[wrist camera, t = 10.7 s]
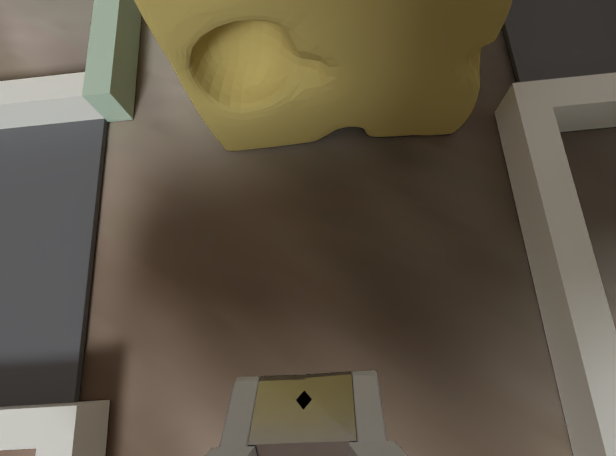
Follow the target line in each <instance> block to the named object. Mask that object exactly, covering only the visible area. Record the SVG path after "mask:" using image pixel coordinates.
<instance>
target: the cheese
mask: <svg viewBox="0 0 616 456" xmlns="http://www.w3.org/2000/svg"><path fill="white" fill-rule="evenodd" d="M134 1H135V3H136V5H137V7H138V9H139V11H140V13H141V15H142V17H143V18H144V20H145V22H146V24H147V25H148V27H149V28H150V30H151V32H152V33H153V35H154V37H155V38H156V40H157V42H158V43H159V45H160V47H161V48H162V50H163V52H164V53H165V55H166V56H167V58H168V59H169V61H170V63H171V65H172V66H173V68H174V70H175V72H176V74H177V76H178V78H179V80H180V82H181V84H182V85H183V87H184V89H185V91H186V92H187V94H188V96H189V97H190V99H191V101H192V103H193V104H194V106H195V108H196V109H197V111H198V113H199V114H200V115H201V117H202V118H203V120H204V122H205V123H206V125H207V126H208V127H209V129H210V130H211V132H212V133H213V134H214V135H215V137H216V138H217V139H218V141H219V142H220V143H221V144H222V146H223V147H224V148H225V149H226V150H228V151H240V150H249V149H259V148H268V147H277V146H285V145H293V144H301V143H307V142H313V141H317V140H319V139H321V138H323V137H325V136H327V135H329V134H330V133H331V132H333V131H335V130H337V129H340V128H344V127H360V128H363V129H365V131H366V133H367V134H368V135H369V136H373V137H390V136H406V135H443V134H451V133H453V132H455V131H456V130H457V129H458V128H460V127H461V126H462V125H463V124H464V122H465V121H466V120H467V119H468V117H469V116H470V114H471V112H472V111H473V108H474V106H475V104H476V101H477V99H478V94H479V89H480V58H481V50H482V48H483V46H485V45H488V44H490V43H492V42H494V41H495V40H496V39H497V37H498V35H499V33H500V31H501V29H502V26H503V24H504V22H505V20H506V18H507V15H508V13H509V10H510V7H511V4H512V1H513V0H134Z"/></svg>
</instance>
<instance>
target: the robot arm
mask: <svg viewBox="0 0 616 456" xmlns="http://www.w3.org/2000/svg"><path fill="white" fill-rule="evenodd" d="M352 383H353V384H352ZM353 395H354V396H353ZM205 456H407V454H406V453H405V452H404V451H403V450H402V449H401V447H400V446H399V445H398V444H397V443H396V442H395V441H387V436H386V430H385V423H384V416H383V410H382V403H381V396H380V390H379V383H378V376H377V373H376V371H375V370H369V371H352V373H351V371H348V372H332V373H316V374H306V375H276V376H251V377H238V378H237V380H236V381H235V383H234V387H233V391H232V395H231V399H230V403H229V408H228V412H227V416H226V420H225V425H224V429H223V433H222V437H221V441H220V446H219V447H216V448H211V449H210V450H209V452H208V453H207V454H206V455H205Z"/></svg>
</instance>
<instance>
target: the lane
mask: <svg viewBox="0 0 616 456" xmlns="http://www.w3.org/2000/svg"><path fill="white" fill-rule="evenodd" d="M141 17H142V15H141V13H140V11H139V9H138V7H137V5H136V3H135V1H134V0H94V6H93V14H92V22H91V29H90V37H89V45H88V53H87V60H86V68H85V72H80V73H71V74H62V75H52V76H43V77H34V78H25V79H16V80H7V81H0V450H12V449H31V448H36V456H105V454H106V442H107V430H108V418H109V406H110V400H100V401H83V402H79V397H80V387H81V377H82V368H83V358H84V348H85V339H86V329H87V320H88V310H89V300H90V291H91V281H92V271H93V262H94V252H95V242H96V233H97V223H98V213H99V204H100V194H101V184H102V175H103V165H104V156H105V146H106V136H107V127H108V122H114V121H123V120H133V114H134V102H135V90H136V78H137V66H138V53H139V41H140V29H141ZM502 28H503V32H504V36H505V40H506V44H507V48H508V52H509V56H510V60H511V64H512V68H513V71H514V75H515V79H516V83H512V85H511V86H510V88H509V89H508V91H507V93H506V94H505V96H504V98H503V99H502V101H501V103H500V104H499V106H498V108H497V109H496V111H495V118H496V122H497V126H498V131H499V135H500V139H501V144H502V148H503V152H504V157H505V161H506V165H507V170H508V174H509V178H510V183H511V187H512V191H513V196H514V200H515V204H516V209H517V213H518V218H519V222H520V226H521V231H522V235H523V239H524V244H525V248H526V252H527V257H528V261H529V265H530V270H531V274H532V278H533V283H534V287H535V291H536V296H537V300H538V304H539V309H540V313H541V317H542V322H543V326H544V331H545V335H546V339H547V344H548V348H549V352H550V357H551V361H552V365H553V370H554V374H555V378H556V383H557V387H558V391H559V396H560V400H561V404H562V409H563V413H564V417H565V422H566V426H567V430H568V435H569V439H570V443H571V448H572V452H573V456H616V330H615V326H614V323H613V319H612V316H611V312H610V309H609V305H608V301H607V298H606V294H605V291H604V287H603V284H602V280H601V277H600V273H599V270H598V266H597V262H596V259H595V255H594V252H593V248H592V245H591V241H590V238H589V234H588V231H587V227H586V223H585V220H584V216H583V213H582V209H581V206H580V202H579V199H578V195H577V192H576V188H575V184H574V181H573V177H572V174H571V170H570V167H569V163H568V160H567V156H566V153H565V149H564V145H563V142H562V138H561V135H560V132H566V131H577V130H588V129H598V128H609V127H616V0H513V1H512V4H511V7H510V10H509V13H508V15H507V18H506V20H505V22H504V24H503V26H502Z"/></svg>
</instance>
